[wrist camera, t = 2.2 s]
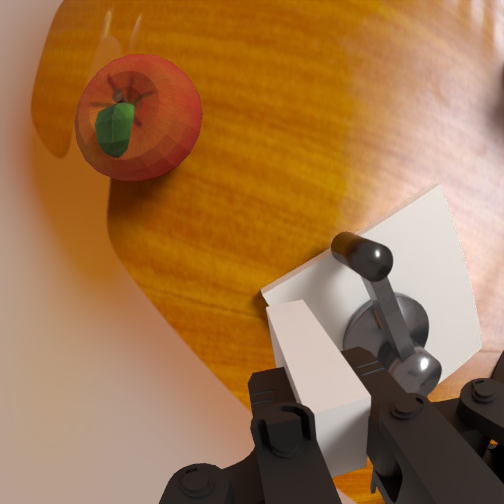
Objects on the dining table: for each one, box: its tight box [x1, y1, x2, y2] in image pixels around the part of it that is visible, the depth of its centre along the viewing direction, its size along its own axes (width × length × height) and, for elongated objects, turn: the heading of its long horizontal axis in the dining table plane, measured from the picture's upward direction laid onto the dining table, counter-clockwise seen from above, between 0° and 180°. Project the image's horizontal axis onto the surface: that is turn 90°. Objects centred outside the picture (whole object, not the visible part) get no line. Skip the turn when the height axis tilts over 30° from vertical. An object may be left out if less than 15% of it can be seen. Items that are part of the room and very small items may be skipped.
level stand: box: [260, 184, 483, 385], centre depth 26 cm, size 22×20×8 cm
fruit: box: [74, 54, 203, 181], centre depth 20 cm, size 10×10×10 cm
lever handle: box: [331, 232, 442, 399], centre depth 25 cm, size 19×9×6 cm, turn 30°
